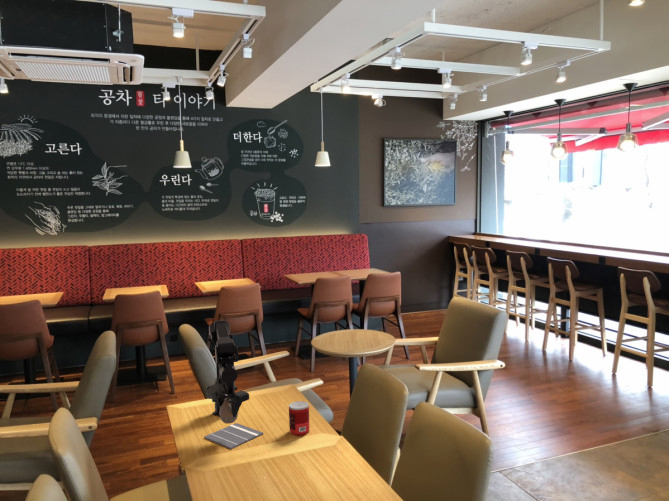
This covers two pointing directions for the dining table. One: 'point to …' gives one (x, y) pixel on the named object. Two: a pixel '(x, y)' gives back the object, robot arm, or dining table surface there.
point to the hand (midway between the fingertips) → (228, 414)
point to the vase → (227, 412)
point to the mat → (233, 435)
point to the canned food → (299, 418)
